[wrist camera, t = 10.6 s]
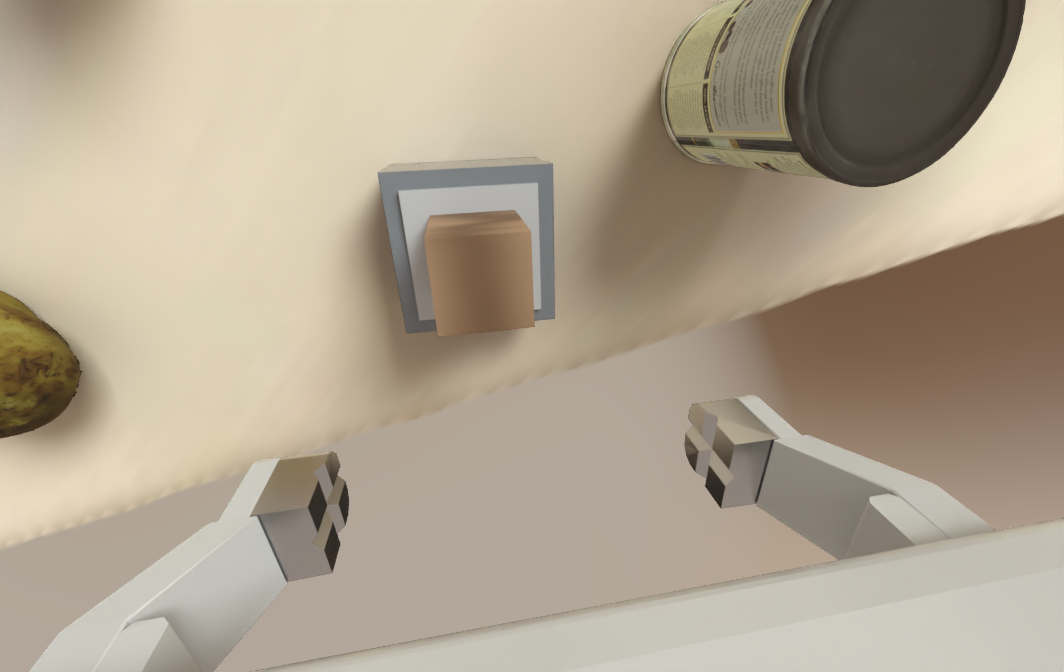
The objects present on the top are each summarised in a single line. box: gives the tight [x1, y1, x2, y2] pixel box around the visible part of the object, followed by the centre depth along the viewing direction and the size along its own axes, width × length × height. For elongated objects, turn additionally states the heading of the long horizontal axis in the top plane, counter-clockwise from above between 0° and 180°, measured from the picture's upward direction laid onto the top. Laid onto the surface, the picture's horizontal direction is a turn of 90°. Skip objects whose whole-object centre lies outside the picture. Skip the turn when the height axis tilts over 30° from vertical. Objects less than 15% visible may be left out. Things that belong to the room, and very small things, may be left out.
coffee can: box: [661, 0, 1026, 187], centre depth 25 cm, size 10×10×14 cm
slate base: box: [378, 157, 555, 333], centre depth 29 cm, size 10×10×6 cm
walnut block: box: [424, 210, 535, 337], centre depth 24 cm, size 5×5×6 cm
